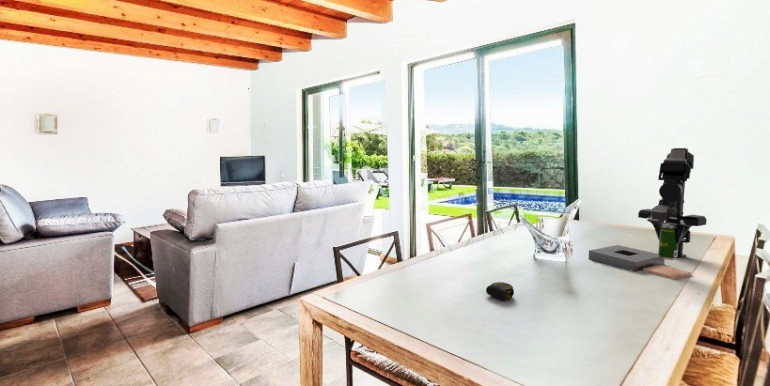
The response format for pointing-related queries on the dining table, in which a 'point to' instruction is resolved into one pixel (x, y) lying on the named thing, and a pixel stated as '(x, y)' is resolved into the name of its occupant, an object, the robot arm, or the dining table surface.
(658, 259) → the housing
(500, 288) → the tape measure
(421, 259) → the dining table surface
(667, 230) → the beer can
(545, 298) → the dining table surface
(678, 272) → the coaster
